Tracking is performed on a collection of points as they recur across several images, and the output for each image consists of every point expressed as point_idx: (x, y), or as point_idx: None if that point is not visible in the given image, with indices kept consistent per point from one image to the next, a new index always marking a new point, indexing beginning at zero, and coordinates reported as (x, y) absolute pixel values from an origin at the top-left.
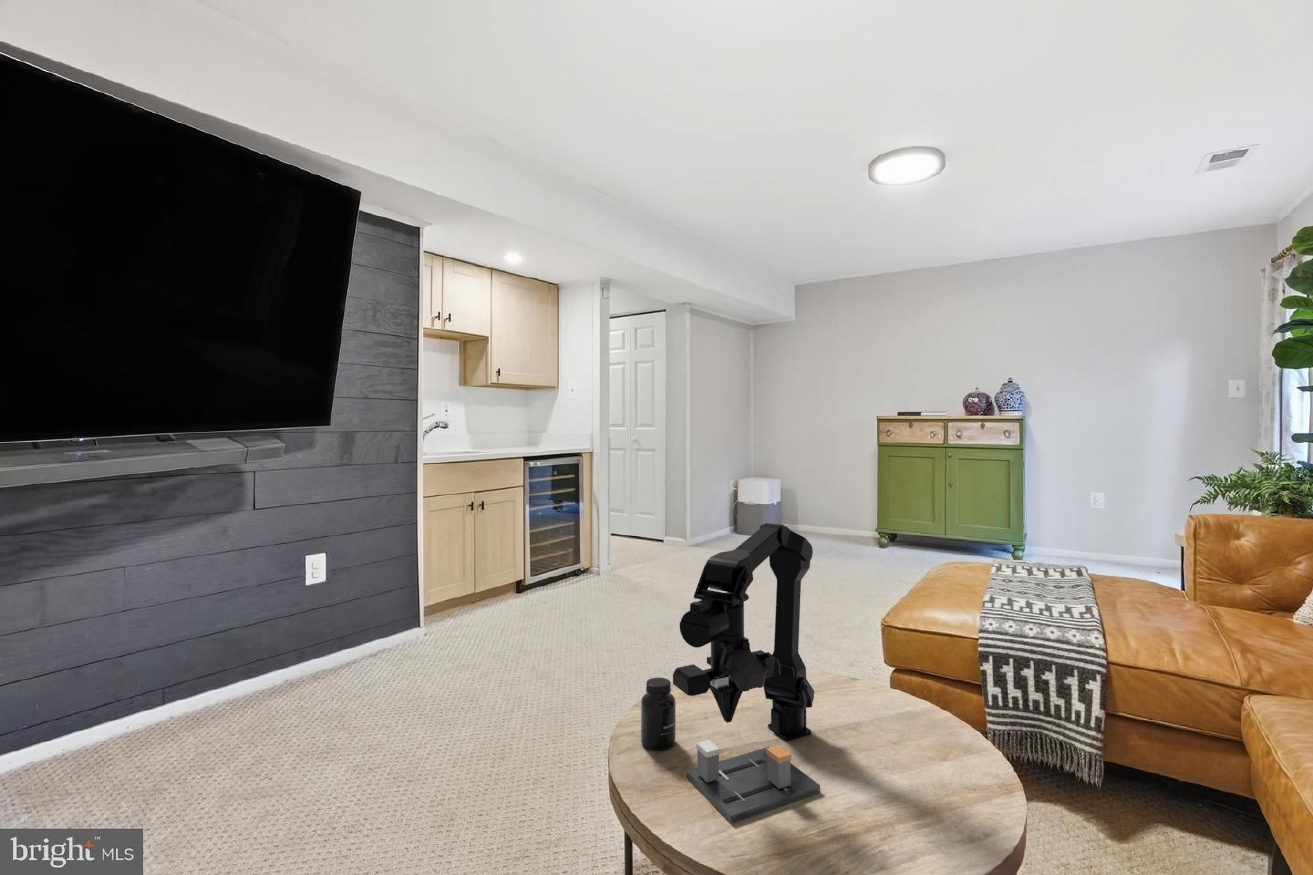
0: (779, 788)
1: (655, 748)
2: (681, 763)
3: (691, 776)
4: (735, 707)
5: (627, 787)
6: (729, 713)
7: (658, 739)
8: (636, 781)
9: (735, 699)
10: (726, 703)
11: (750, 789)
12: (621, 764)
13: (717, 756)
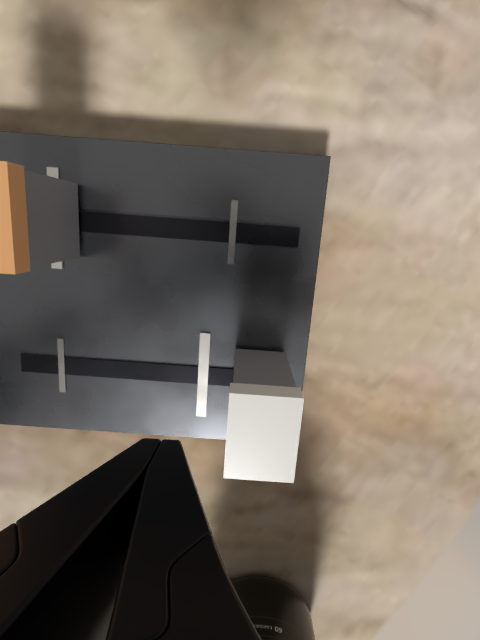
0: (75, 183)
1: (293, 591)
2: (260, 498)
3: None
4: (67, 495)
5: (472, 477)
6: (154, 473)
7: (288, 615)
8: (432, 489)
9: (21, 570)
10: (186, 558)
11: (170, 246)
12: (415, 575)
13: (240, 381)
